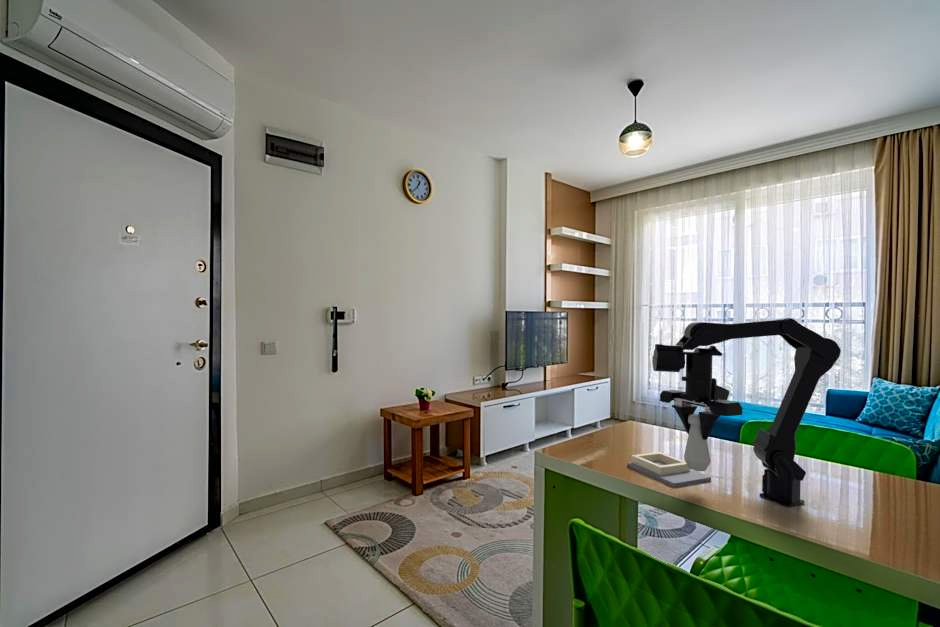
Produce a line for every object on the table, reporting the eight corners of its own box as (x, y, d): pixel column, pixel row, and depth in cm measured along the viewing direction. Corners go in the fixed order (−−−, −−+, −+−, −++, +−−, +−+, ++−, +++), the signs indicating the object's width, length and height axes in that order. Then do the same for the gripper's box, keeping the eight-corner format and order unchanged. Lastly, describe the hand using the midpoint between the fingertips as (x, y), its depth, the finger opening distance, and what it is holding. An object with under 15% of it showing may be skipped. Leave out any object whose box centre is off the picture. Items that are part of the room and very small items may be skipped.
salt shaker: (715, 473, 101) (716, 418, 102) (691, 472, 101) (692, 417, 102) (702, 464, 107) (703, 412, 107) (679, 463, 107) (680, 412, 107)
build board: (710, 481, 111) (711, 469, 111) (673, 487, 106) (674, 475, 106) (661, 461, 126) (661, 451, 126) (627, 466, 121) (627, 455, 121)
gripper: (759, 377, 99) (757, 445, 99) (689, 368, 116) (688, 425, 116) (726, 379, 95) (724, 449, 95) (658, 369, 112) (657, 428, 112)
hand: (697, 437), depth 104 cm, fingers closed on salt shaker, 4 cm apart
